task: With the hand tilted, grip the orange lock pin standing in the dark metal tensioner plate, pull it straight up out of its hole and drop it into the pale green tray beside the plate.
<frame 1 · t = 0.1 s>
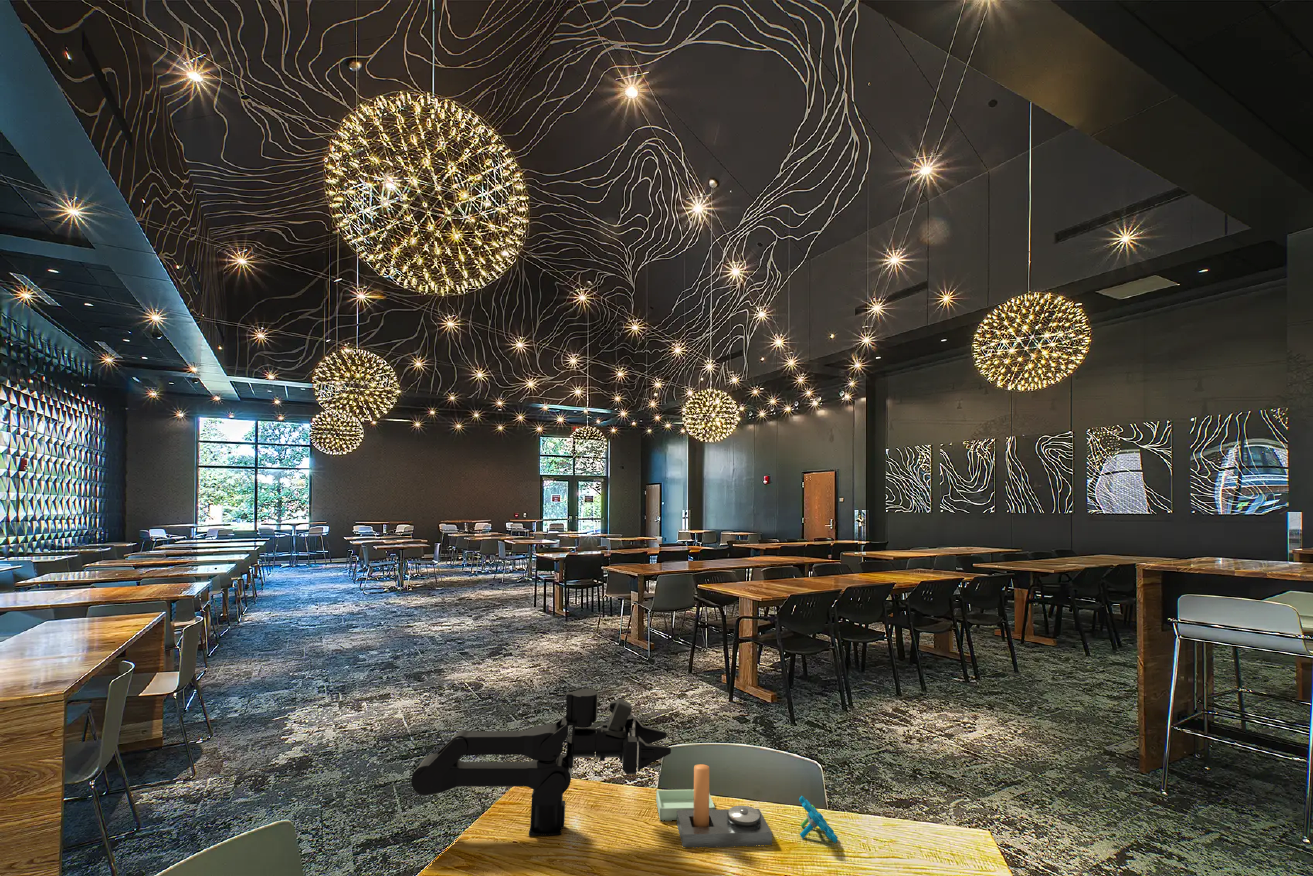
hand: (668, 742, 128), 17 cm above the table, tool horizontal, fingers open, 9 cm apart
lock pin: (701, 834, 123), resting in tensioner plate
tray: (684, 810, 133), on the table
tensioner plate: (722, 834, 123), on the table
gear: (817, 838, 123), on the table
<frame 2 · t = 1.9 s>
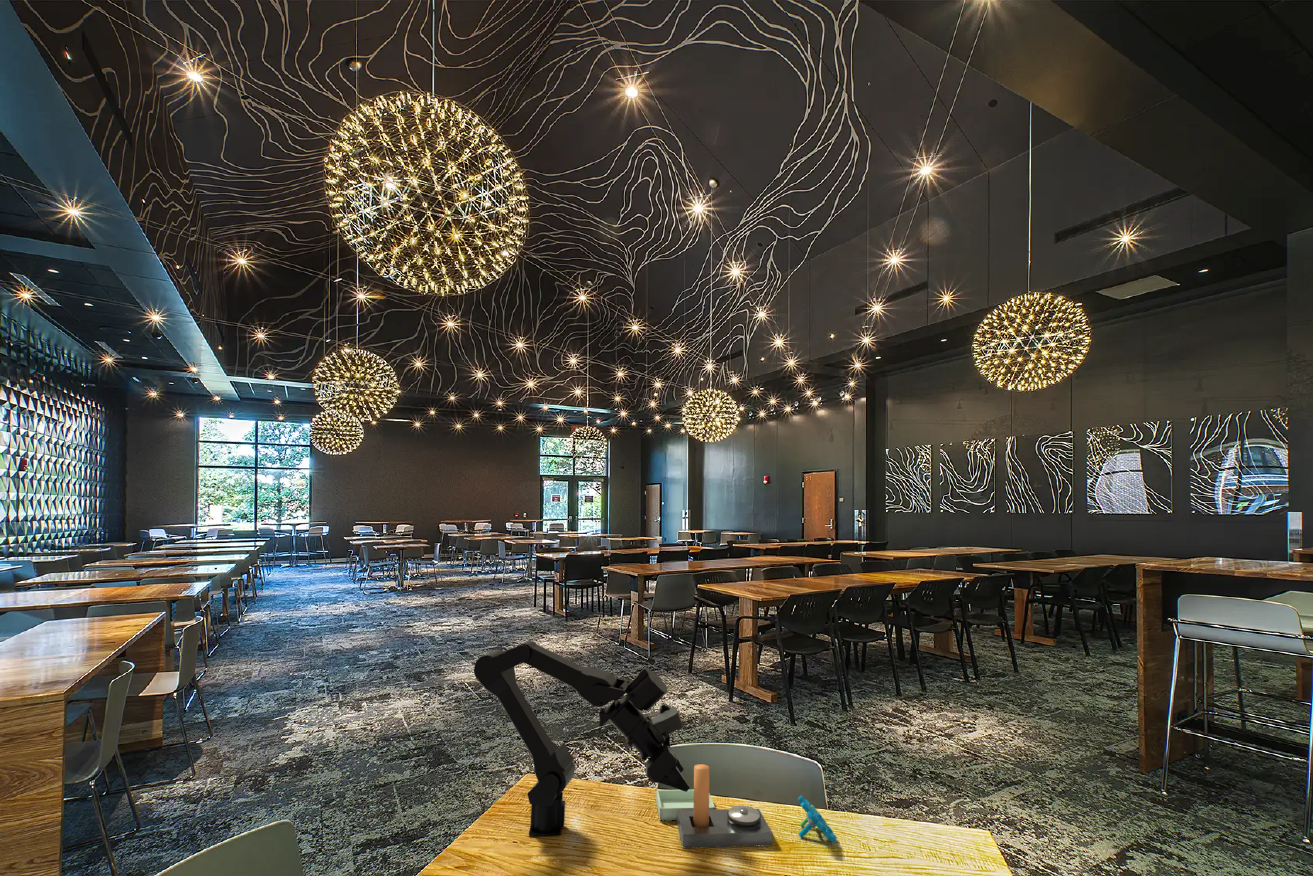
hand: (685, 780, 124), 11 cm above the table, tool tilted 45°, fingers open, 9 cm apart
nothing on the table moved.
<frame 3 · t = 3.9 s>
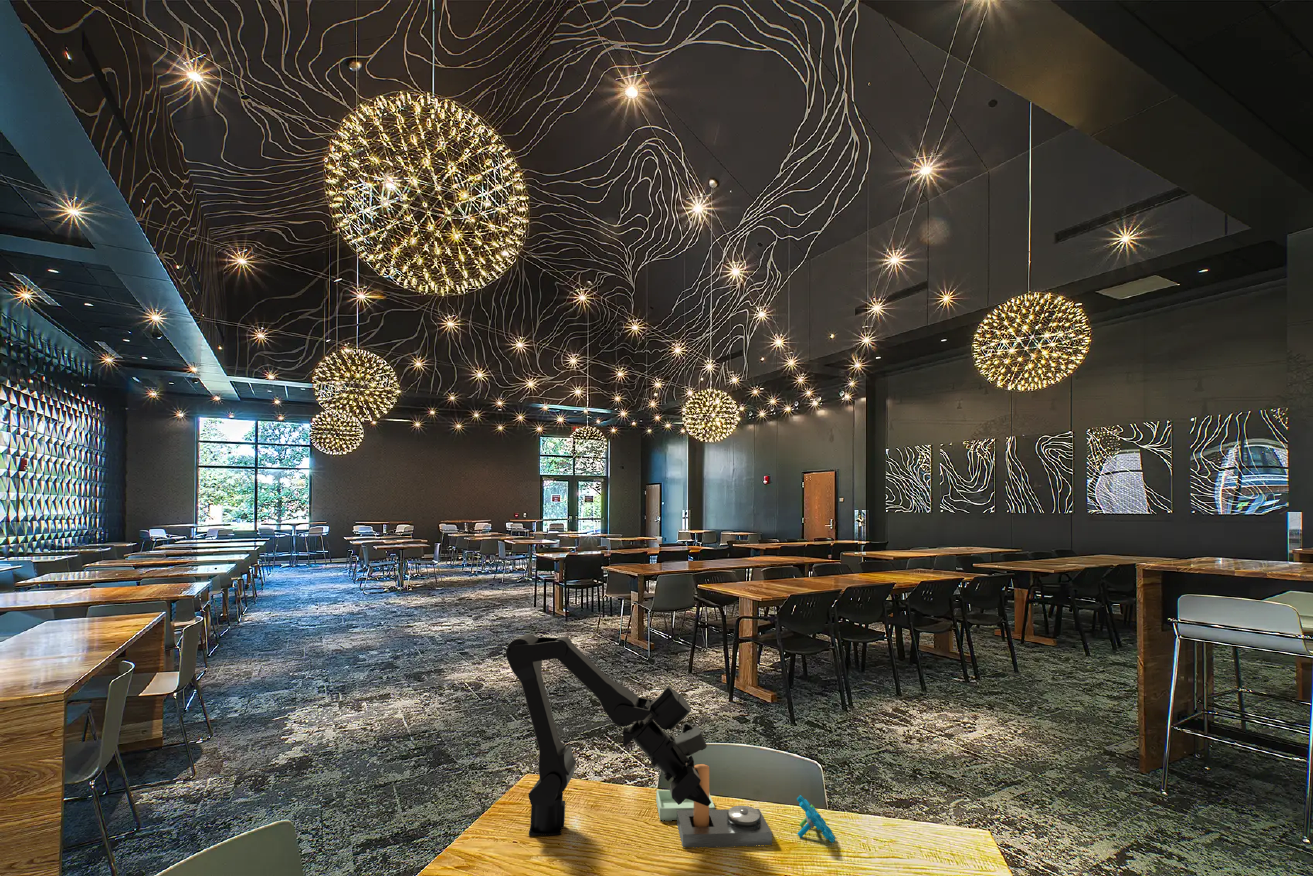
hand: (708, 800, 124), 7 cm above the table, tool tilted 45°, fingers closed on lock pin, 3 cm apart
lock pin: (701, 834, 123), resting in tensioner plate, touching gripper
everything else where it was.
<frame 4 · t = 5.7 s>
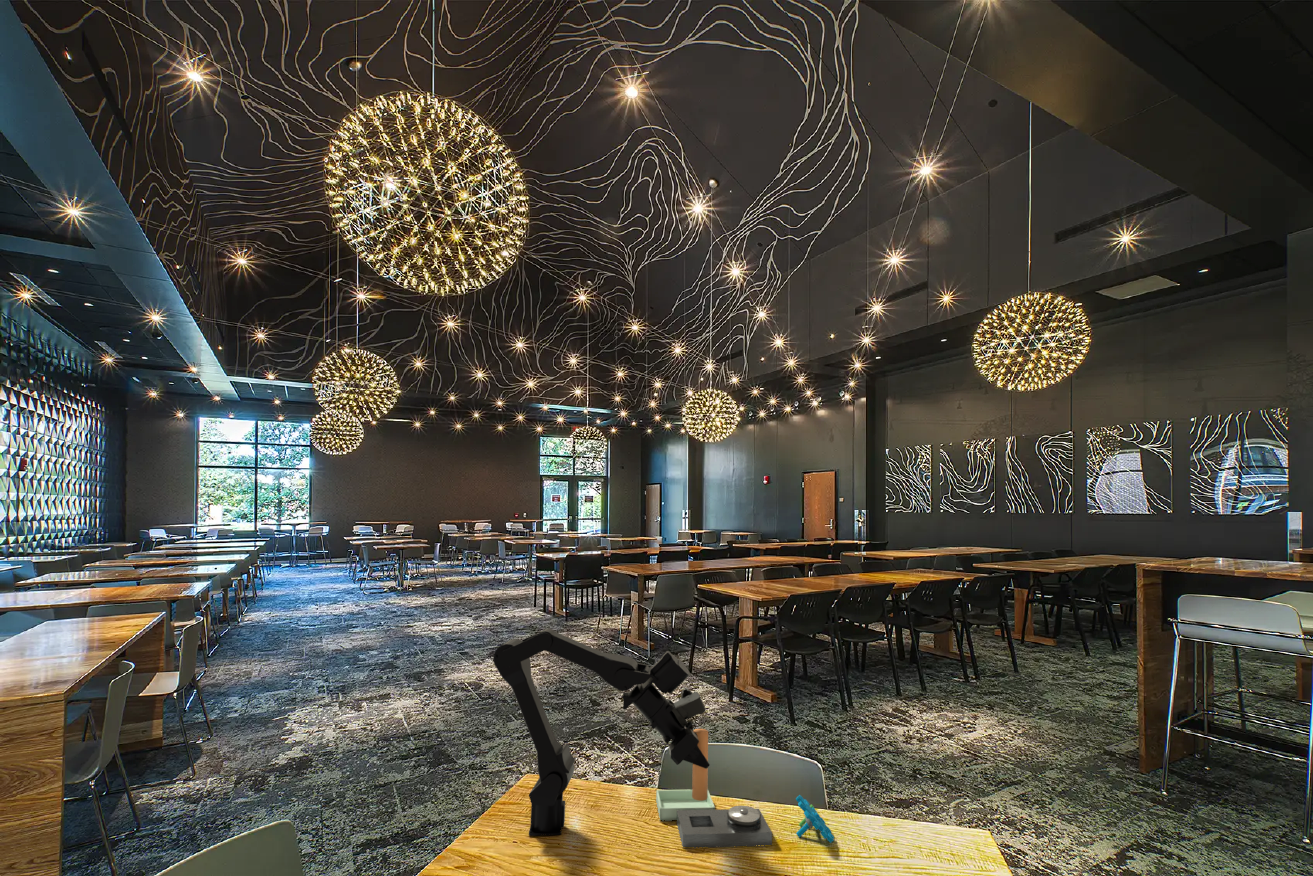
hand: (706, 763, 125), 13 cm above the table, tool tilted 45°, fingers closed on lock pin, 3 cm apart
lock pin: (699, 797, 124), point 7 cm above the table, touching gripper
everything else where it was.
when the fingers open (10 cm above the table, at t = 7.7 s): lock pin drops 2 cm, resting on tray.
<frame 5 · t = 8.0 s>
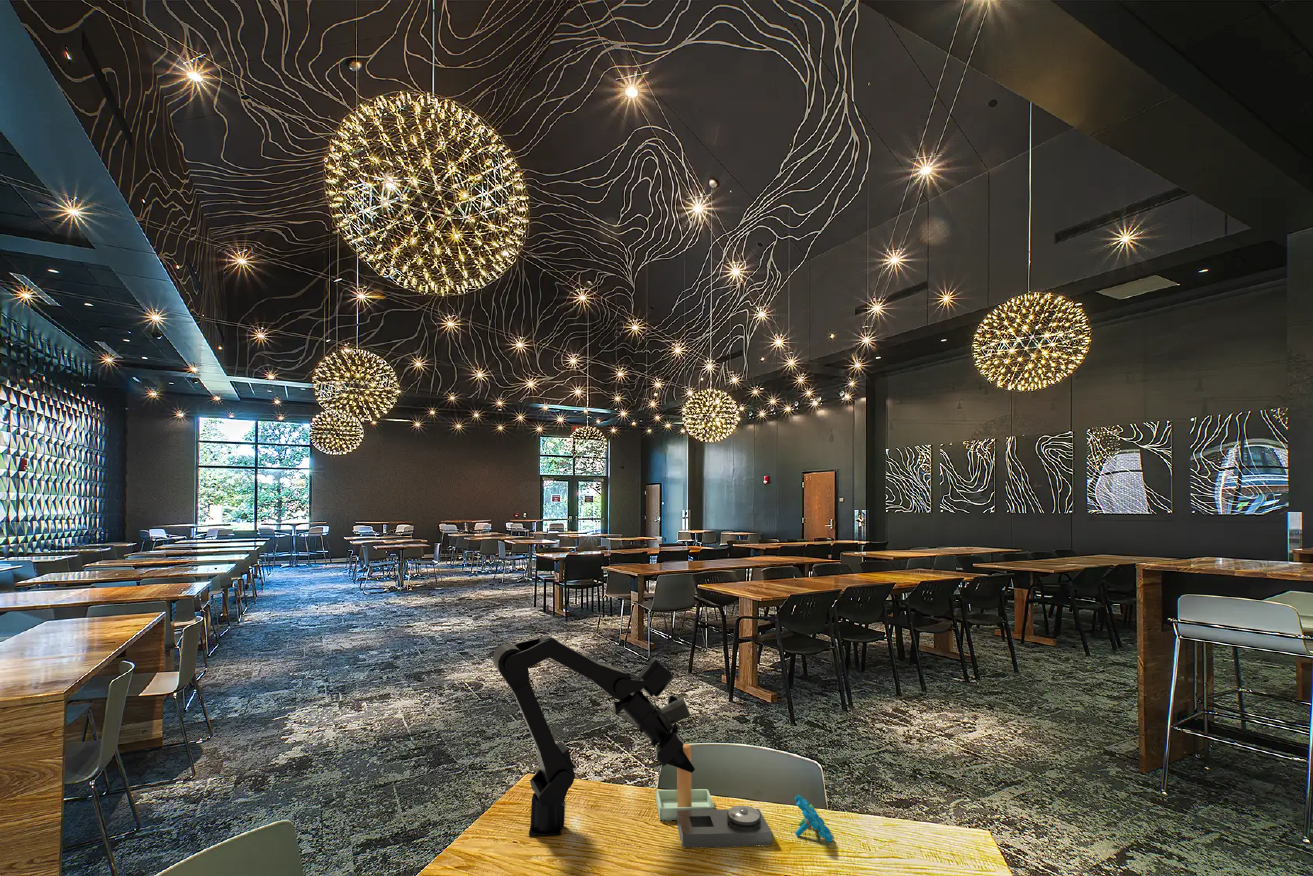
hand: (691, 764, 134), 10 cm above the table, tool tilted 45°, fingers open, 6 cm apart
lock pin: (684, 807, 133), point 1 cm above the table, touching tray
everything else where it was.
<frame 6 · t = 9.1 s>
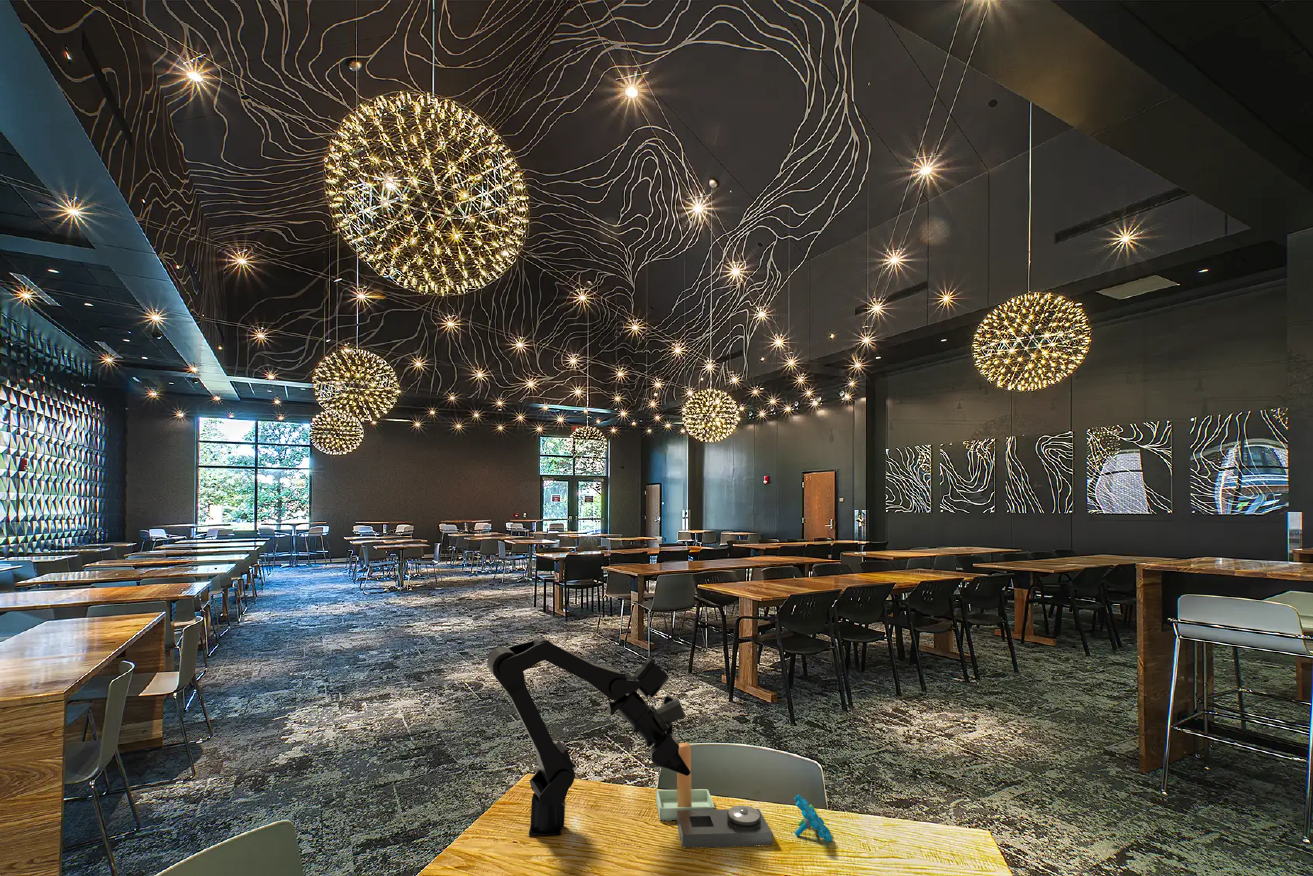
hand: (686, 765, 134), 9 cm above the table, tool tilted 45°, fingers open, 9 cm apart
nothing on the table moved.
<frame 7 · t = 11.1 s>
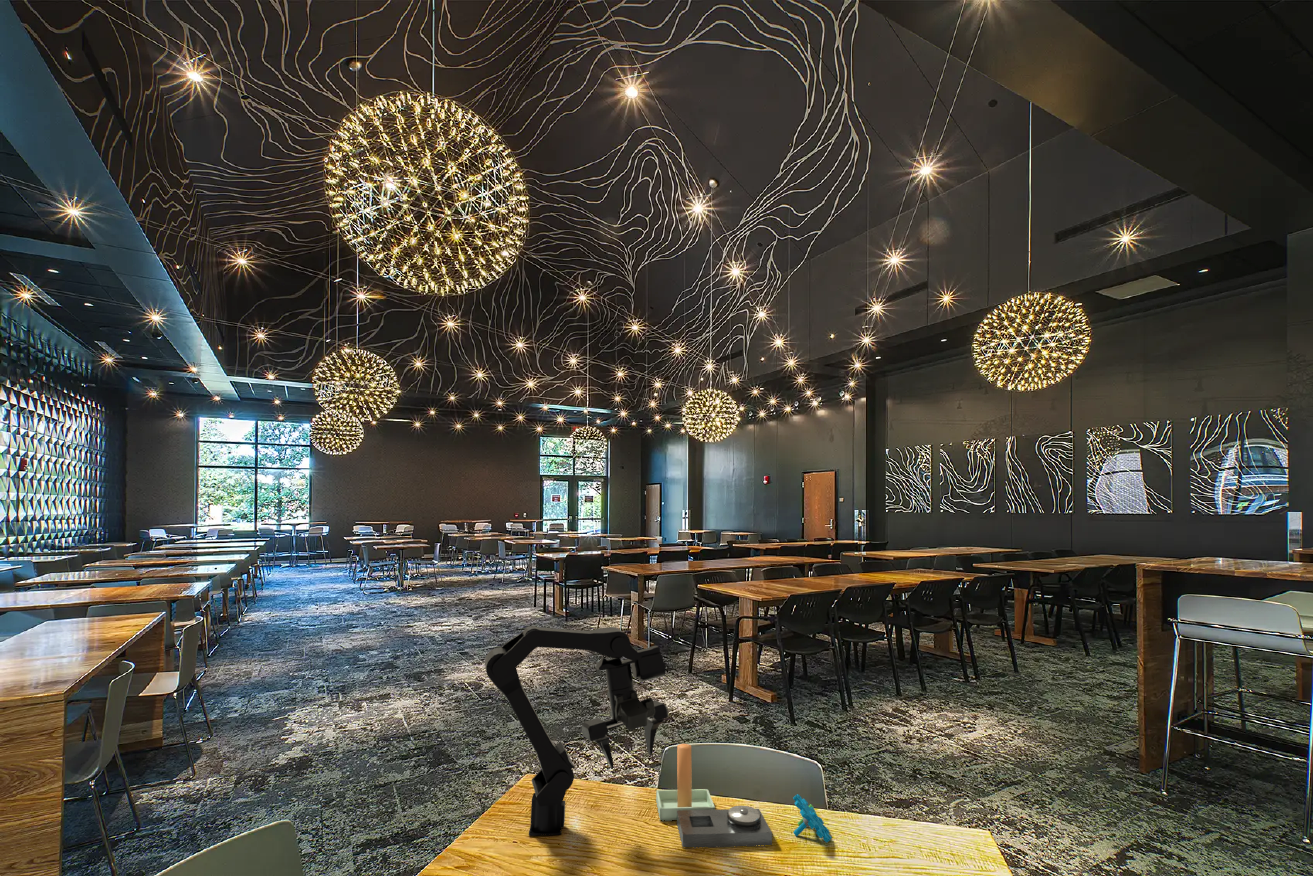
hand: (631, 761, 130), 12 cm above the table, tool pointing down, fingers open, 9 cm apart
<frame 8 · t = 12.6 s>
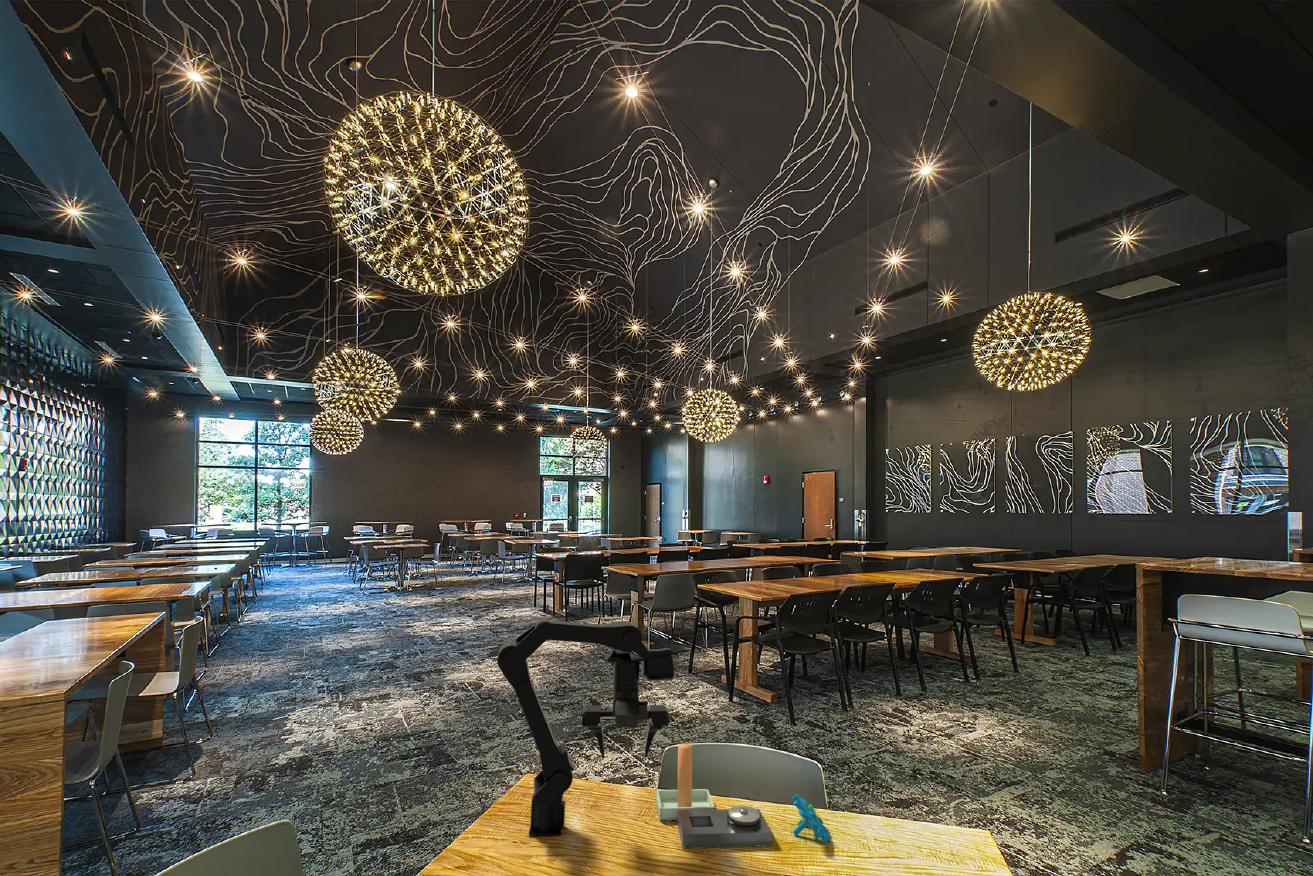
hand: (624, 757, 129), 13 cm above the table, tool pointing down, fingers open, 9 cm apart
at the end: lock pin inside the target area on the tray (0.0 cm from its centre), point 0.5 cm above the tray's base; the gripper is holding nothing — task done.
